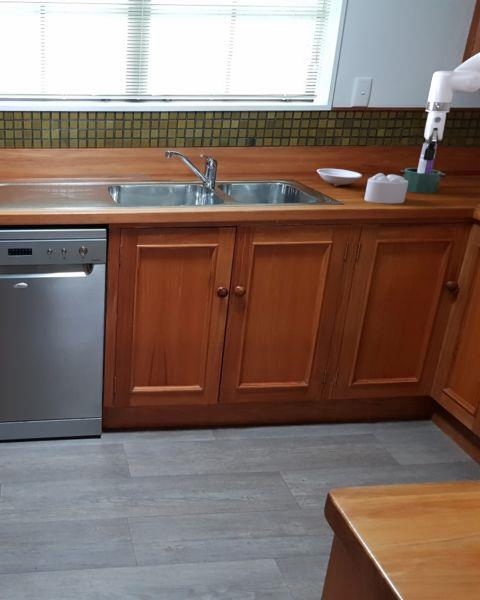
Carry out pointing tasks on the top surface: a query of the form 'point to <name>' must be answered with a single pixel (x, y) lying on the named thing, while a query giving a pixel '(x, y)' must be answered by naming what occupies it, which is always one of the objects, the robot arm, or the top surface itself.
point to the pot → (422, 180)
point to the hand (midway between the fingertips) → (427, 158)
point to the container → (425, 162)
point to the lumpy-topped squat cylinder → (386, 189)
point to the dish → (338, 176)
